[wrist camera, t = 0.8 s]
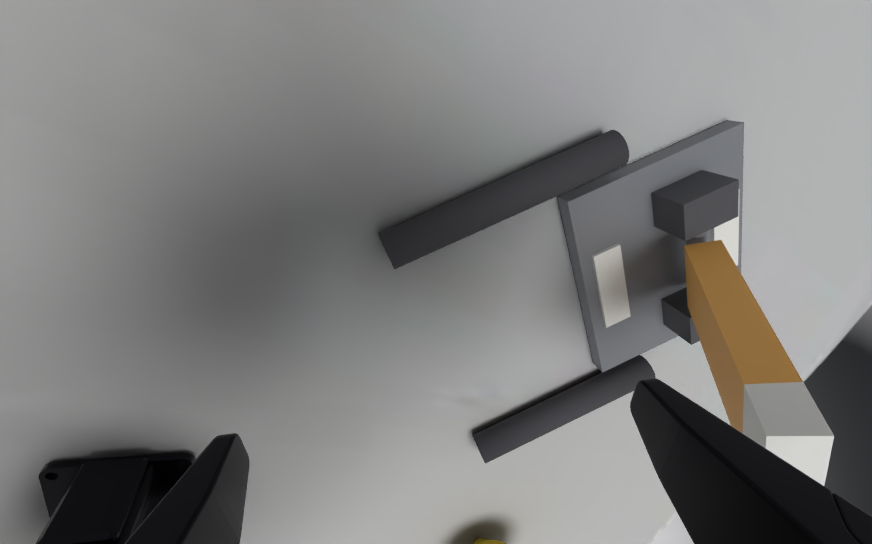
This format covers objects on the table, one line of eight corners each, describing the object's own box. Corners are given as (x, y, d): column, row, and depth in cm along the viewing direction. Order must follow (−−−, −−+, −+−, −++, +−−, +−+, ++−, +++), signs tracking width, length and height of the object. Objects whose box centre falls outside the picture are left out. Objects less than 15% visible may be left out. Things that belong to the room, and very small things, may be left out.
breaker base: (593, 362, 27) (625, 396, 25) (557, 196, 22) (593, 216, 19) (726, 298, 28) (772, 324, 25) (727, 120, 22) (786, 127, 20)
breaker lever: (681, 290, 25) (760, 510, 15) (676, 225, 23) (766, 431, 13) (712, 286, 24) (818, 514, 14) (711, 219, 22) (834, 431, 12)
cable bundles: (478, 446, 28) (487, 469, 26) (376, 227, 20) (381, 241, 18) (637, 368, 29) (656, 386, 27) (602, 127, 21) (626, 132, 19)
